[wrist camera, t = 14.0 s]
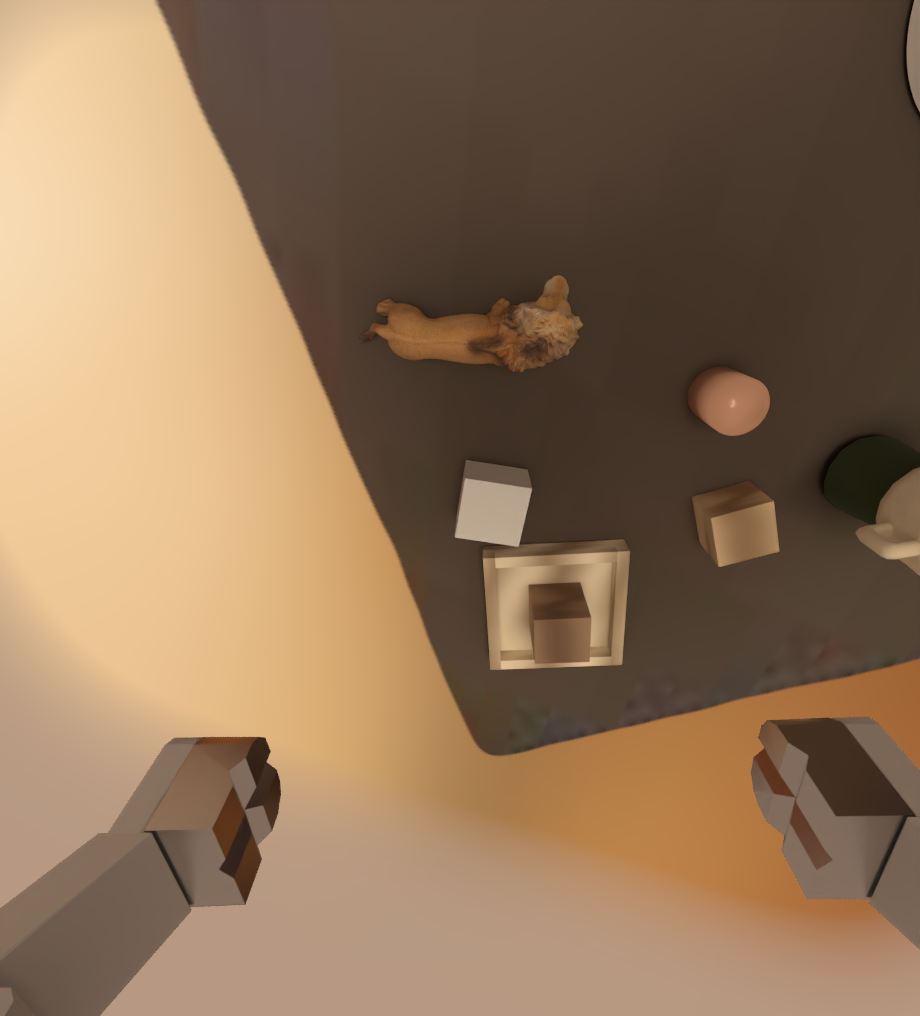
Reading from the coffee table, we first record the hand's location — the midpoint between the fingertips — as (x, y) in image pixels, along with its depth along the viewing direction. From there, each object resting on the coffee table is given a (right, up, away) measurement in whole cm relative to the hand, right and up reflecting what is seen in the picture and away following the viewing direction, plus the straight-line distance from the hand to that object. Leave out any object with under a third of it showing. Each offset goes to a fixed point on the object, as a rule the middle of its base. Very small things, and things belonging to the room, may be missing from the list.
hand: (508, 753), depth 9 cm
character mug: (+31, +7, +33) cm, 45 cm away
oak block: (+21, +4, +34) cm, 40 cm away
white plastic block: (+2, +5, +34) cm, 35 cm away
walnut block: (+8, -5, +38) cm, 39 cm away
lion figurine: (0, +18, +29) cm, 34 cm away
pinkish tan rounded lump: (+18, +13, +30) cm, 37 cm away
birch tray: (+8, -4, +38) cm, 39 cm away
